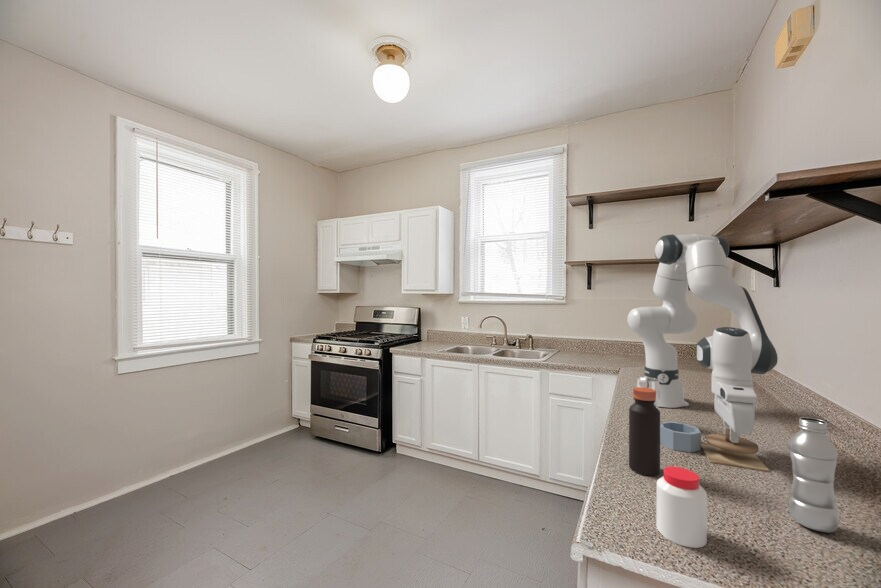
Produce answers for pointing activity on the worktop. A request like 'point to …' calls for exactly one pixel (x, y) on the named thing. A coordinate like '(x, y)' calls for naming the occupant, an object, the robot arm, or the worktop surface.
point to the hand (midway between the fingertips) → (731, 439)
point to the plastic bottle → (813, 476)
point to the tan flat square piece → (732, 458)
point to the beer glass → (650, 386)
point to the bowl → (680, 436)
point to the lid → (725, 444)
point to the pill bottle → (681, 507)
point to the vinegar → (644, 433)
